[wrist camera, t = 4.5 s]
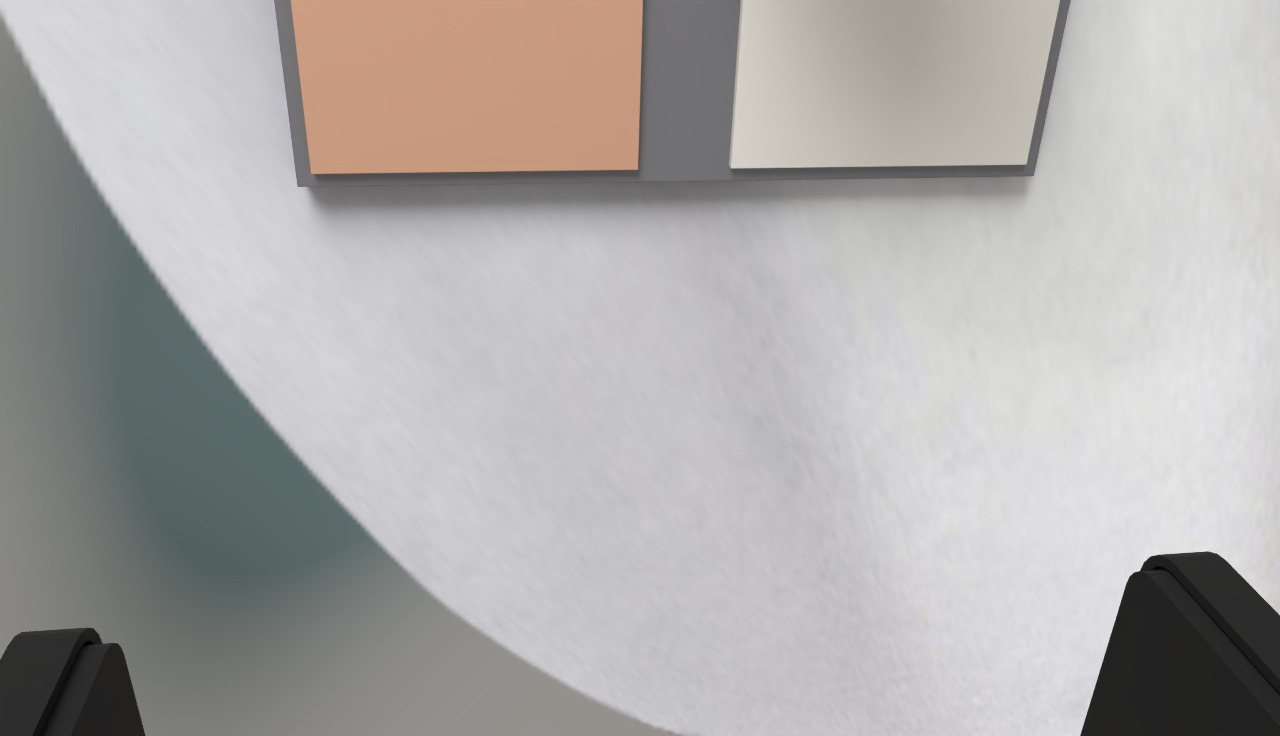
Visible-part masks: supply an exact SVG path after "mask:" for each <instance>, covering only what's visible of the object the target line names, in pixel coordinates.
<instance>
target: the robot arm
mask: <svg viewBox="0 0 1280 736" xmlns="http://www.w3.org/2000/svg"><path fill="white" fill-rule="evenodd" d="M0 736H145V733H144V729H143V725H142V721H141V717H140V714H139V710H138V706H137V702H136V698H135V694H134V691H133V687H132V683H131V679H130V675H129V671H128V668H127V664H126V660H125V656H124V653H123V651H122V648H121V647H120V646H119V644H117V643H109V644H102V642H101V639H100V637H99V634H98V633H97V632H96V631H95V630H94V629H93V628H77V629H62V630H48V631H33V632H21V633H20V634H18V635H16V636H15V637H14V638H13V640H12V641H11V642H10V644H9V645H8V647H7V649H6V650H5V652H4V654H3V656H2V658H1V660H0ZM1080 736H1280V615H1279V614H1278V613H1277V612H1276V611H1275V610H1274V609H1273V608H1272V607H1271V606H1270V605H1269V604H1268V603H1267V602H1266V601H1265V600H1264V599H1263V598H1262V597H1261V596H1260V595H1259V594H1258V593H1257V592H1256V591H1255V590H1254V589H1253V588H1252V587H1251V586H1250V585H1249V584H1248V583H1247V582H1246V580H1245V579H1244V578H1243V577H1242V576H1241V575H1240V574H1239V573H1238V572H1237V571H1236V570H1235V569H1234V568H1233V567H1232V566H1231V565H1230V564H1229V563H1228V562H1227V561H1226V560H1224V559H1223V558H1222V557H1221V556H1219V555H1218V554H1215V553H1212V552H1194V553H1179V554H1165V555H1156V556H1151V557H1150V558H1149V559H1147V560H1146V561H1145V562H1144V564H1143V566H1142V568H1141V570H1140V571H1139V572H1134V573H1133V574H1132V575H1131V576H1130V577H1129V579H1128V582H1127V584H1126V587H1125V590H1124V594H1123V597H1122V600H1121V604H1120V607H1119V610H1118V614H1117V617H1116V620H1115V623H1114V627H1113V630H1112V633H1111V637H1110V640H1109V643H1108V646H1107V650H1106V653H1105V656H1104V660H1103V663H1102V666H1101V669H1100V673H1099V676H1098V679H1097V683H1096V686H1095V689H1094V693H1093V696H1092V699H1091V702H1090V706H1089V709H1088V712H1087V716H1086V719H1085V722H1084V725H1083V729H1082V732H1081V735H1080Z"/></svg>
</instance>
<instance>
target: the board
mask: <svg viewBox="0 0 1280 736" xmlns="http://www.w3.org/2000/svg"><path fill="white" fill-rule="evenodd" d="M274 2H275V10H276V18H277V26H278V34H279V42H280V50H281V58H282V66H283V74H284V82H285V90H286V98H287V106H288V114H289V122H290V130H291V138H292V146H293V154H294V162H295V170H296V178H297V186H298V187H317V186H386V185H455V184H523V183H592V182H661V181H730V180H799V179H868V178H936V177H1005V176H1034V171H1035V166H1036V161H1037V157H1038V152H1039V147H1040V142H1041V138H1042V133H1043V128H1044V123H1045V118H1046V114H1047V109H1048V104H1049V99H1050V94H1051V90H1052V85H1053V80H1054V75H1055V71H1056V66H1057V61H1058V56H1059V51H1060V47H1061V42H1062V37H1063V32H1064V28H1065V23H1066V18H1067V13H1068V8H1069V4H1070V0H274Z"/></svg>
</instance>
